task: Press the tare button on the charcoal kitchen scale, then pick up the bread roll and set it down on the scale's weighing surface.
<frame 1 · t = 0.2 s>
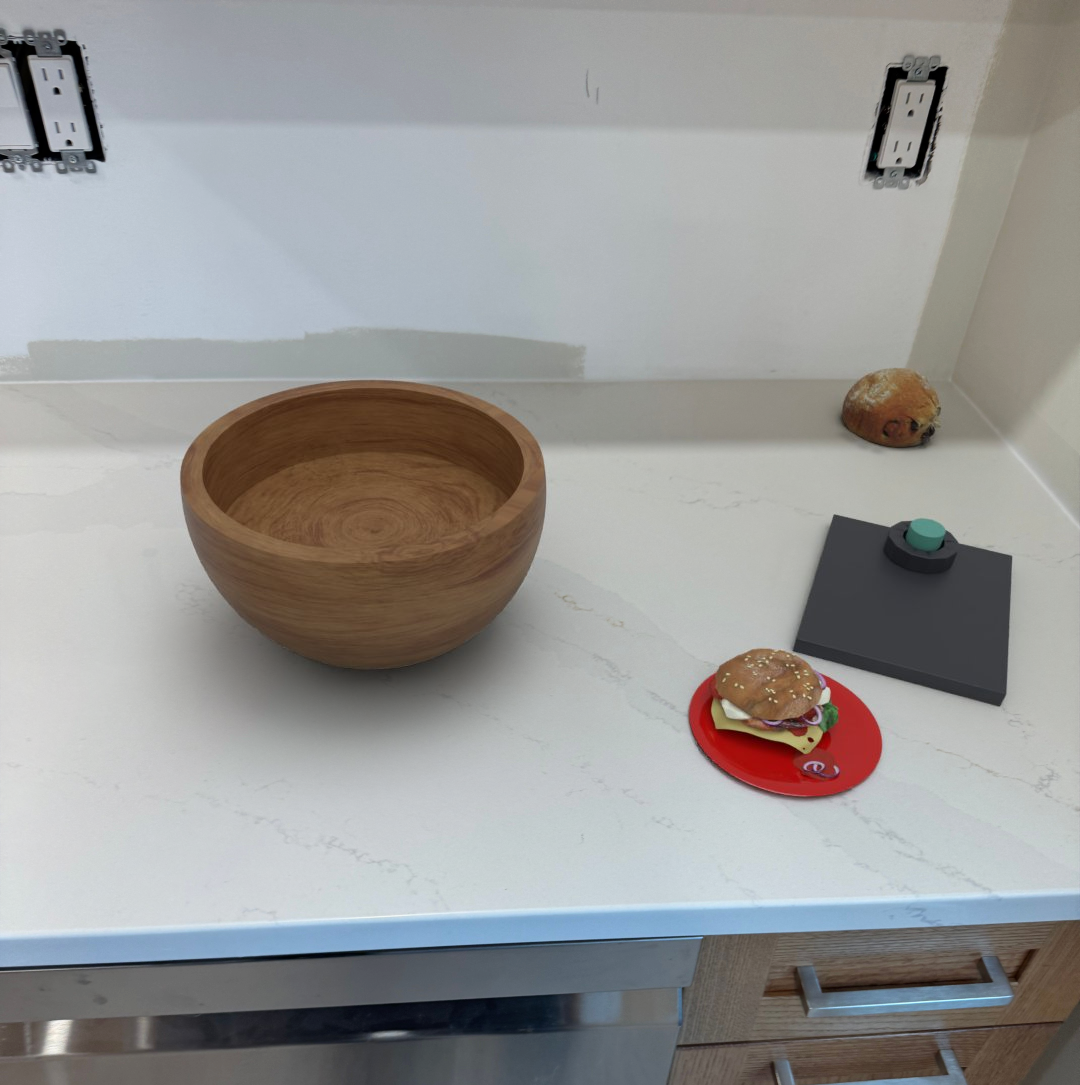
bowl: (381, 632, 76), on the counter
tare button: (925, 534, 84), point 3 cm above the counter, slide at 0.1 cm
bread roll: (888, 429, 105), on the counter
scale: (905, 607, 82), on the counter
hamburger: (782, 729, 70), on the counter
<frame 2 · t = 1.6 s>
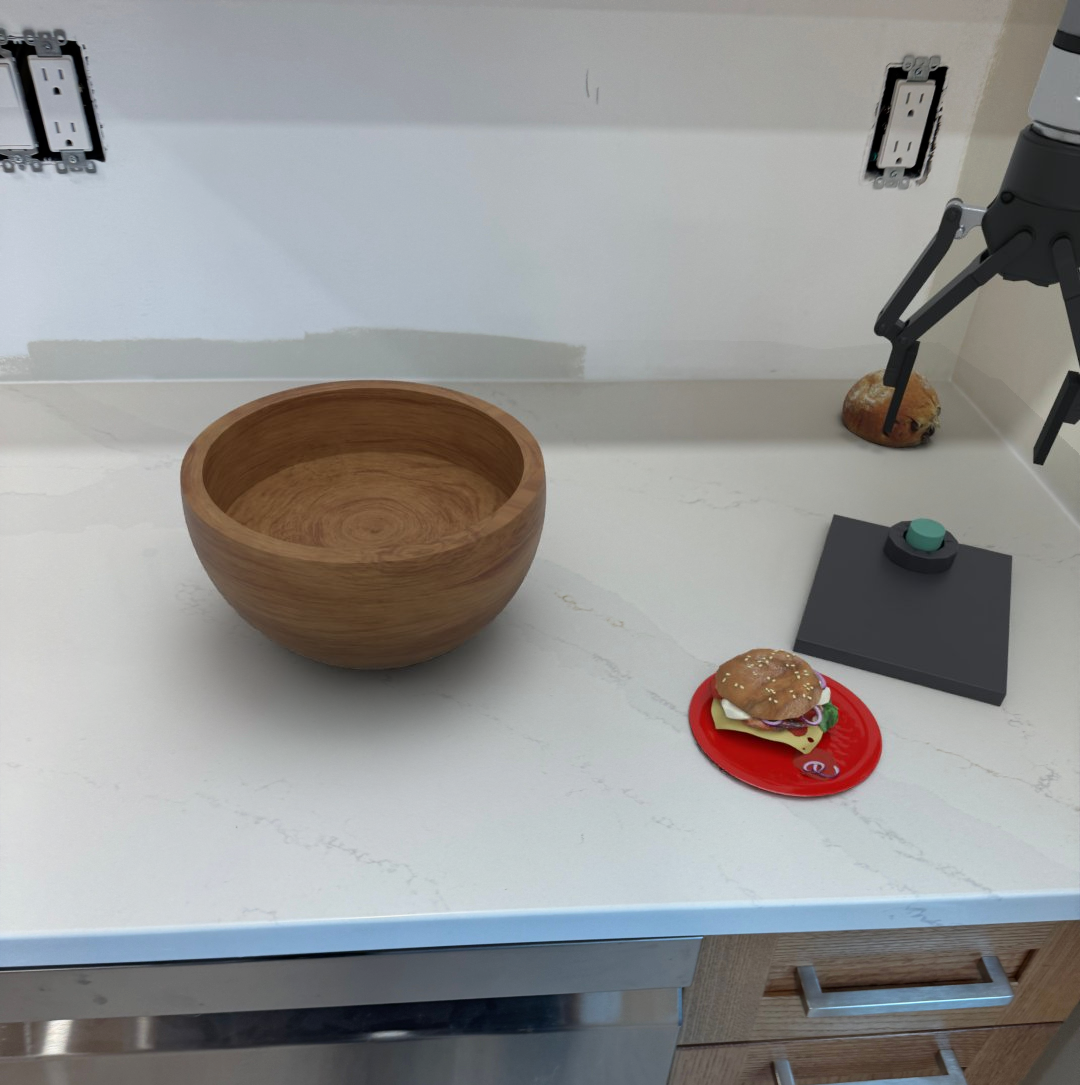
hand: (961, 440, 77), 12 cm above the counter, tool pointing down, fingers open, 11 cm apart
nothing on the counter moved.
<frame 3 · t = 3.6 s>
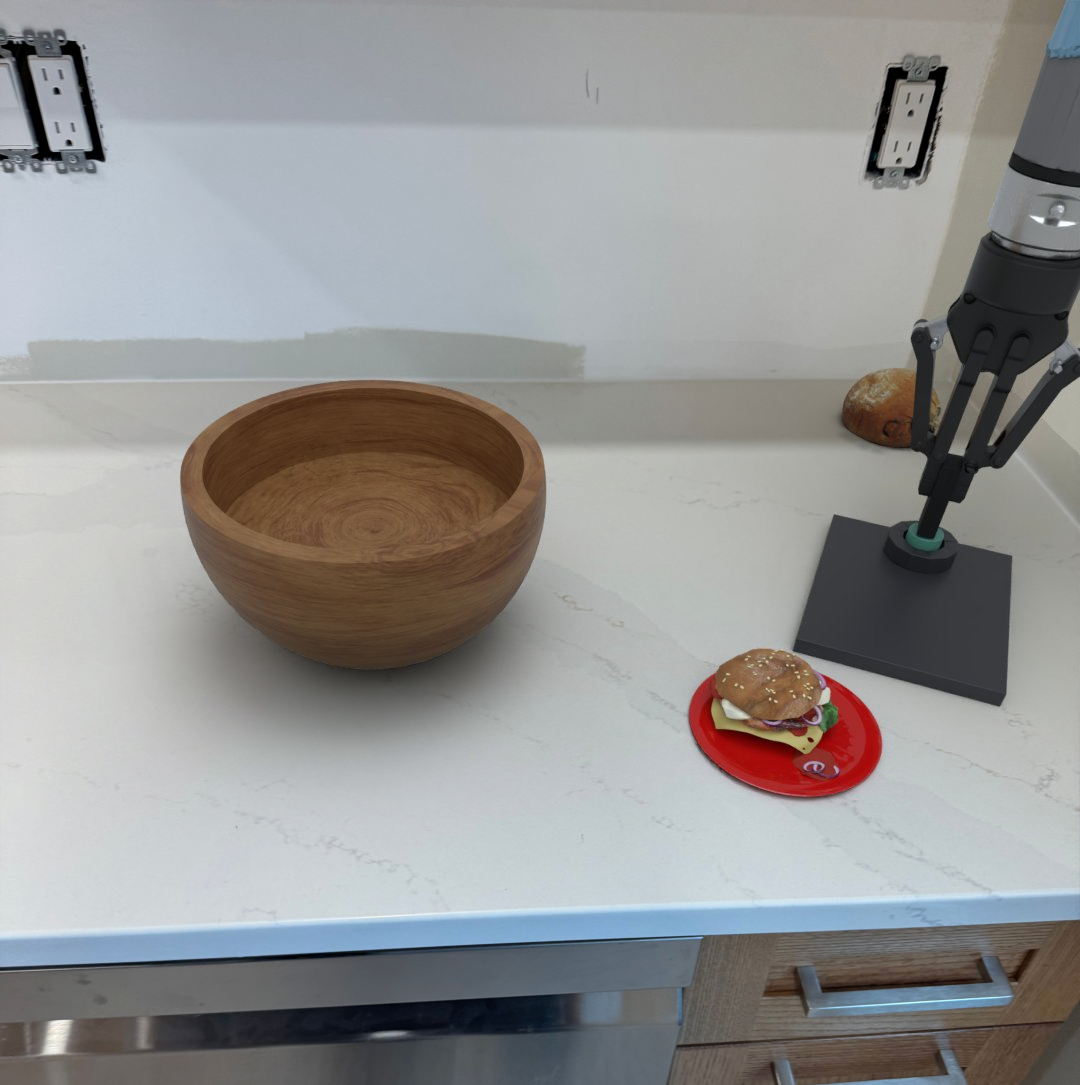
hand: (926, 528, 83), 4 cm above the counter, tool pointing down, fingers closed
tare button: (923, 538, 84), point 3 cm above the counter, slide at -0.3 cm, touching gripper
everything else where it was.
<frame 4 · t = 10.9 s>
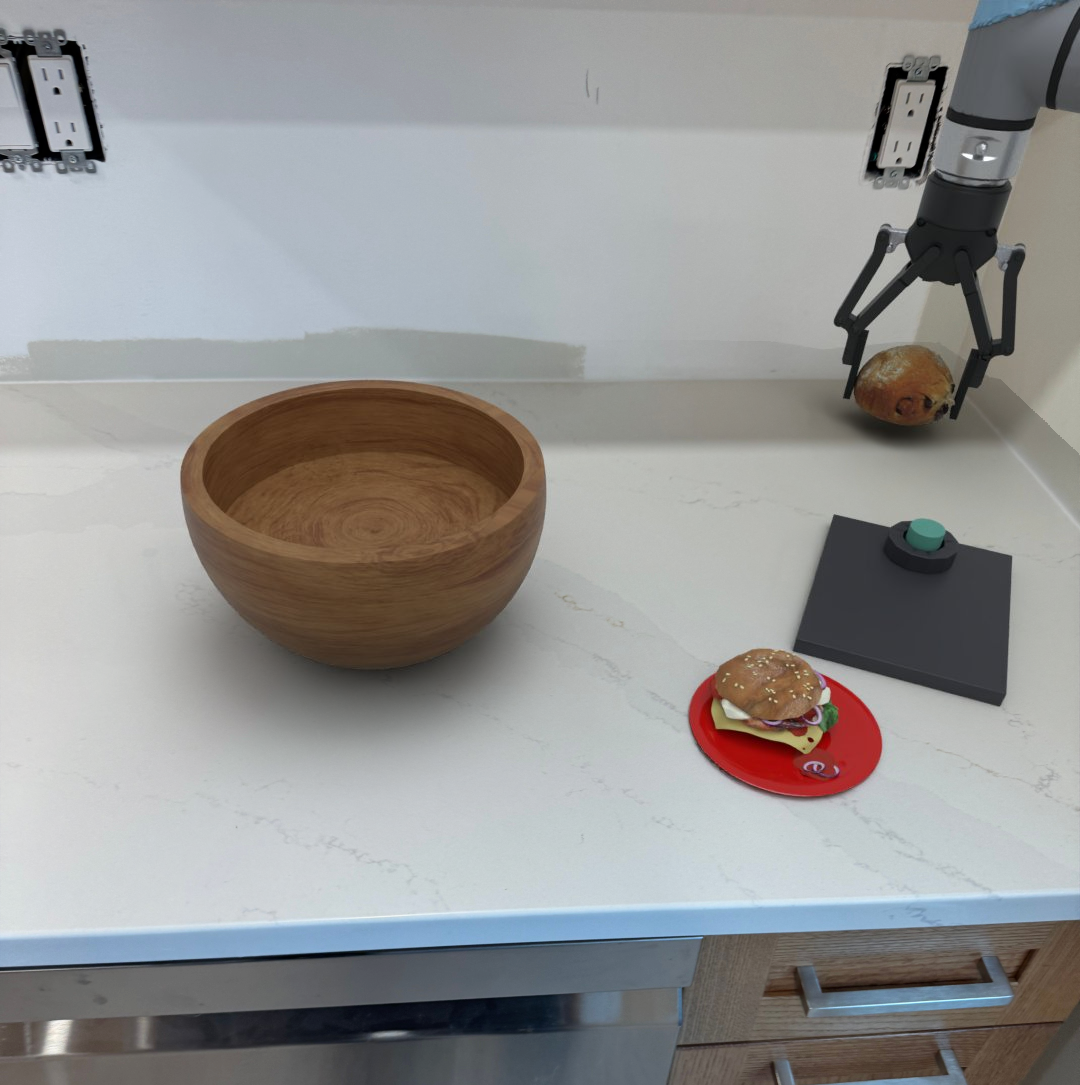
hand: (900, 403, 103), 3 cm above the counter, tool pointing down, fingers closed on bread roll, 10 cm apart
tare button: (925, 534, 84), point 3 cm above the counter, slide at 0.1 cm
bread roll: (901, 408, 103), point 2 cm above the counter, touching gripper
everything else where it was.
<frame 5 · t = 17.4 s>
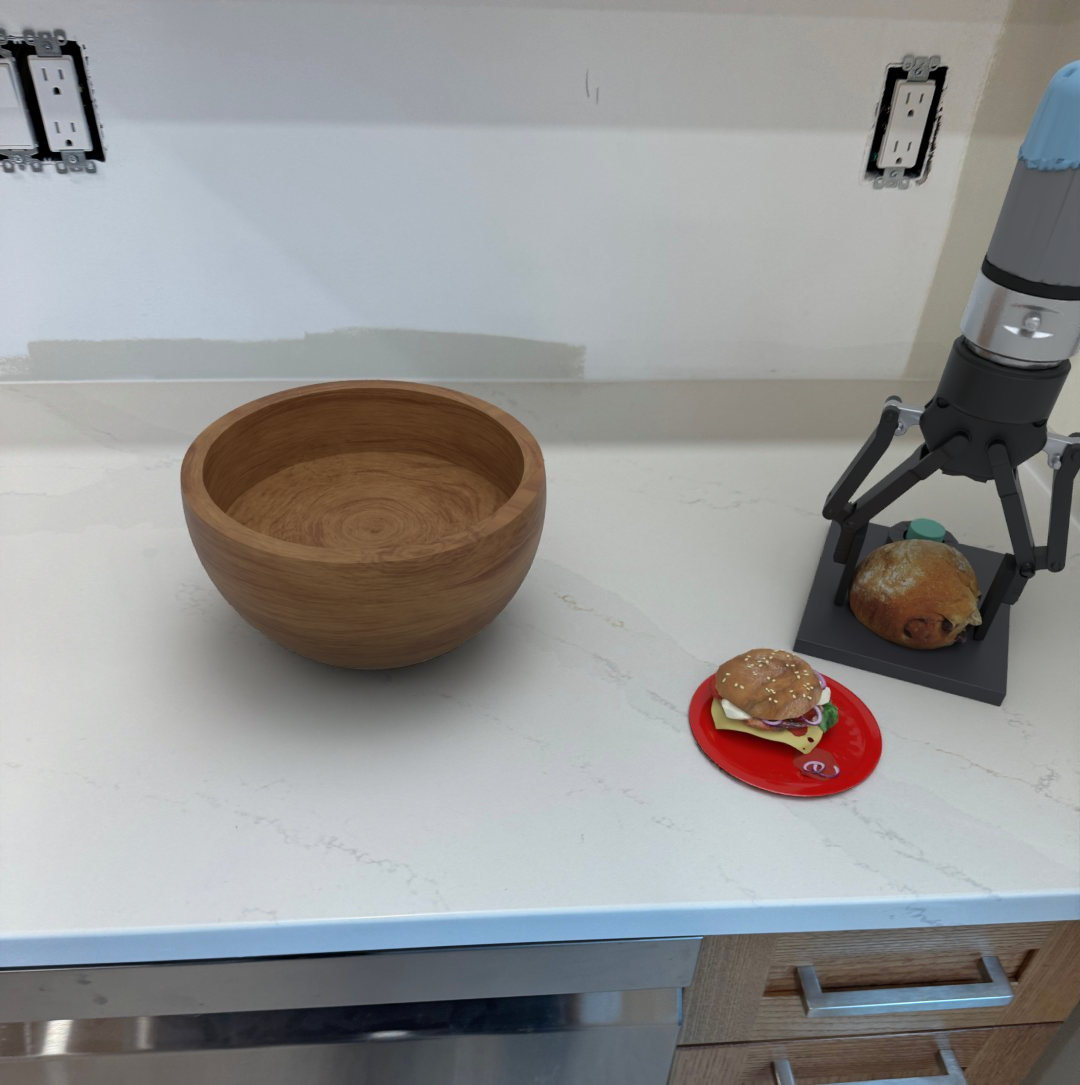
hand: (908, 612, 78), 2 cm above the counter, tool pointing down, fingers closed on bread roll, 10 cm apart
bread roll: (910, 617, 79), point 1 cm above the counter, touching gripper, scale
everything else where it was.
when the fingers open (2 cm above the counter, at t = 17.9 s): bread roll stays where it is, resting on scale.
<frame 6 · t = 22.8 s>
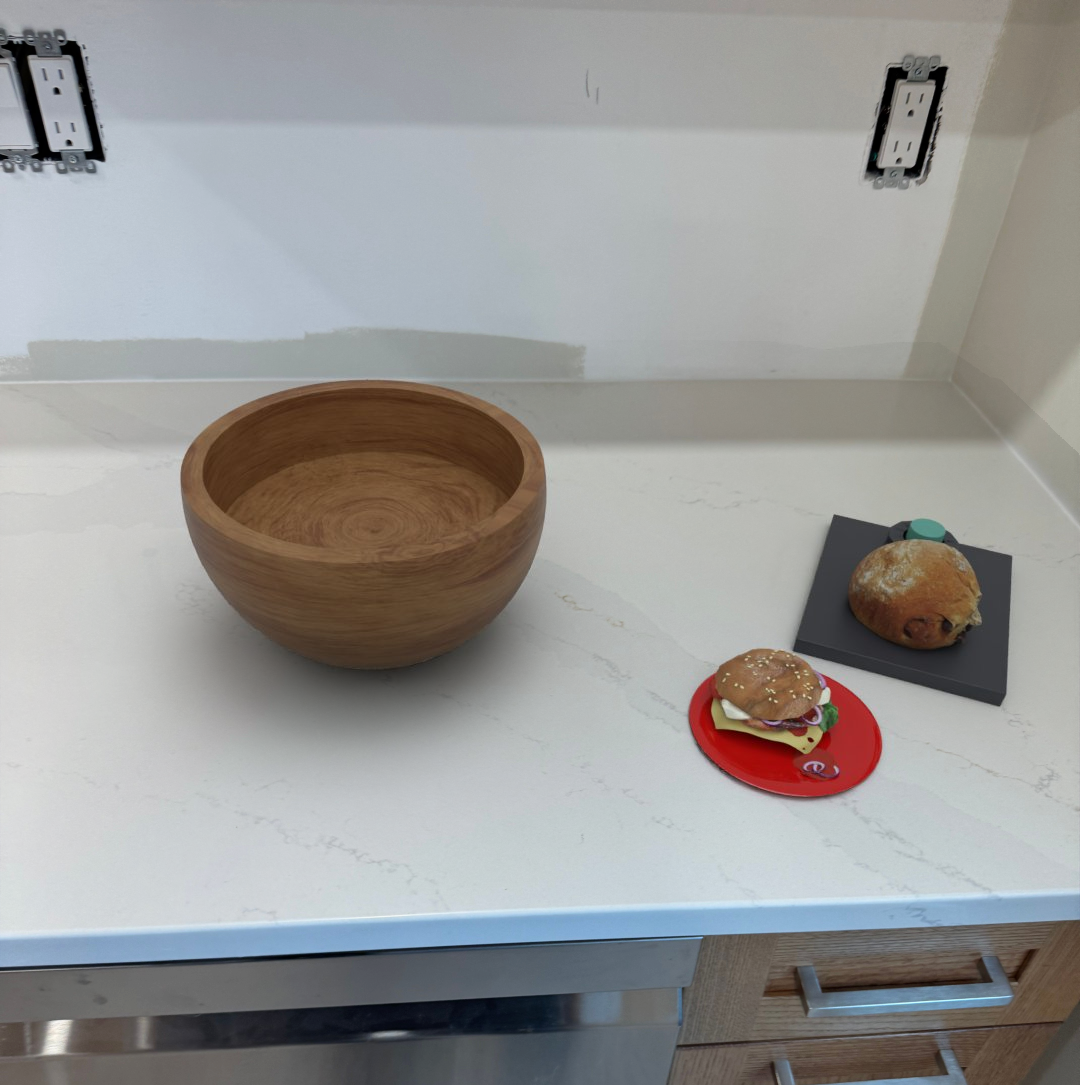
bread roll: (910, 617, 79), point 1 cm above the counter, touching scale
everything else where it was.
at the end: tare button pushed in 0.8 cm at the most during the clip, back to where it started at the end; tare button slide at 0.1 cm; bread roll inside the target area on the scale (2.3 cm from its centre), point 1.2 cm above the scale's base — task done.
